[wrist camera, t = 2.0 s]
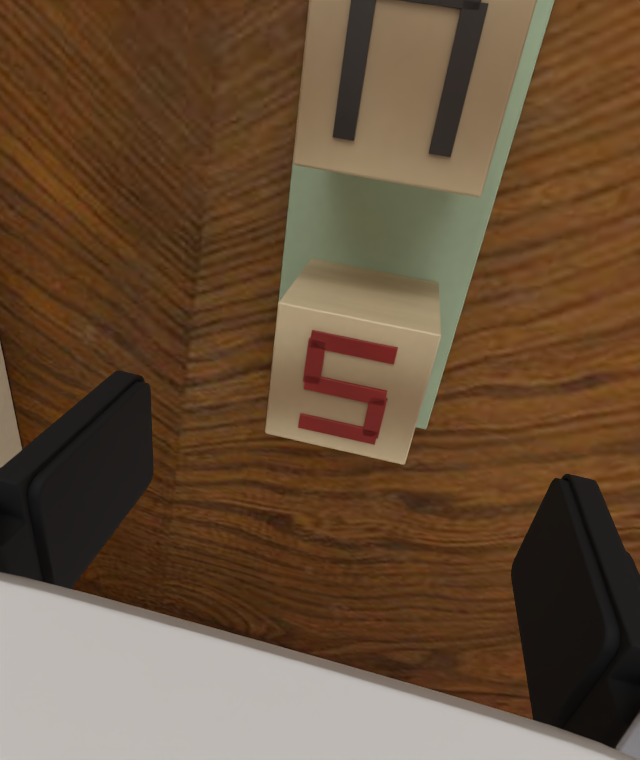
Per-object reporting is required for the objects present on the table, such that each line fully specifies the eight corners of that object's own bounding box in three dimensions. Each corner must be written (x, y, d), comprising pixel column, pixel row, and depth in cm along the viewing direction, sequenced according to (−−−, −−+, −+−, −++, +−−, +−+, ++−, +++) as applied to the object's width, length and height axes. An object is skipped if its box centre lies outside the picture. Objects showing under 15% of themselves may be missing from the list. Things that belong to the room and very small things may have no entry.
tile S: (311, 257, 18) (276, 303, 14) (439, 282, 17) (442, 336, 13) (296, 368, 20) (263, 435, 16) (409, 393, 20) (404, 467, 16)
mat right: (323, -105, 14) (320, -112, 13) (573, -74, 13) (578, -79, 12) (271, 389, 21) (268, 395, 21) (426, 423, 21) (426, 430, 20)
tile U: (348, -33, 14) (315, -84, 10) (517, -9, 13) (553, -54, 9) (325, 148, 16) (290, 165, 12) (468, 173, 16) (481, 199, 12)
